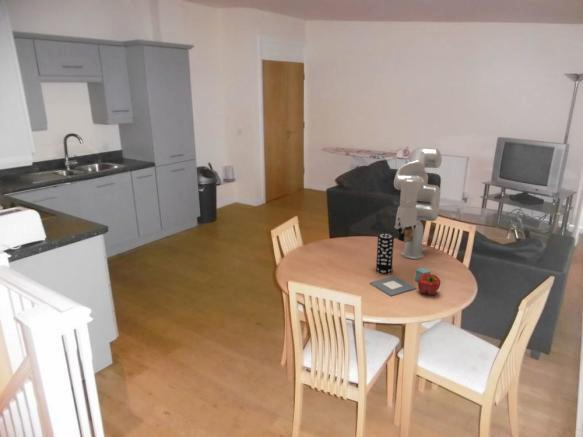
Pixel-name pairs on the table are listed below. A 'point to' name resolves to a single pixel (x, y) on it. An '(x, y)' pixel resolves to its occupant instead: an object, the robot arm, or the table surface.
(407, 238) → the walnut block
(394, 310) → the table surface
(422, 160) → the robot arm
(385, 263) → the white-spotted black cylinder
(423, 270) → the teal block
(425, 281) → the vegetable
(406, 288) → the slate mat
